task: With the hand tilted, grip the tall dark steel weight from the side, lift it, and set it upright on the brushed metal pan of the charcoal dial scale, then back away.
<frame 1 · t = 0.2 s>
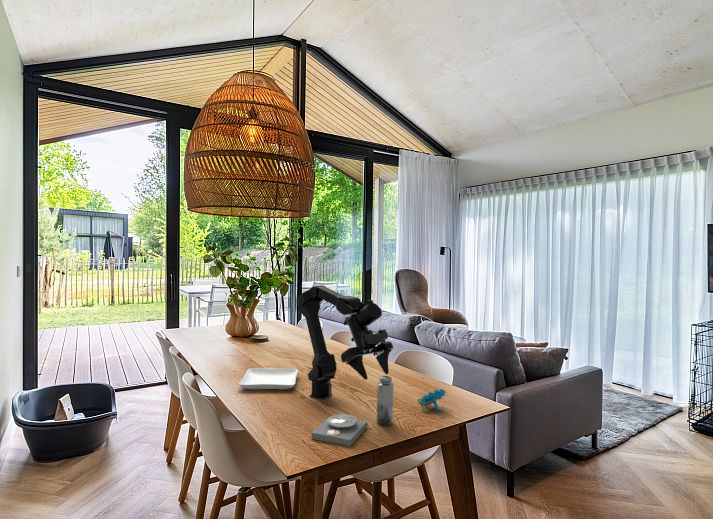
hand: (377, 376, 138), 14 cm above the table, tool tilted 35°, fingers open, 9 cm apart
salad plate: (270, 384, 174), on the table
scale pan: (342, 420, 130), point 3 cm above the table, slide at 0.2 cm
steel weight: (384, 422, 137), on the table
scale: (340, 432, 129), on the table
turquoise toy figurine: (430, 409, 151), on the table
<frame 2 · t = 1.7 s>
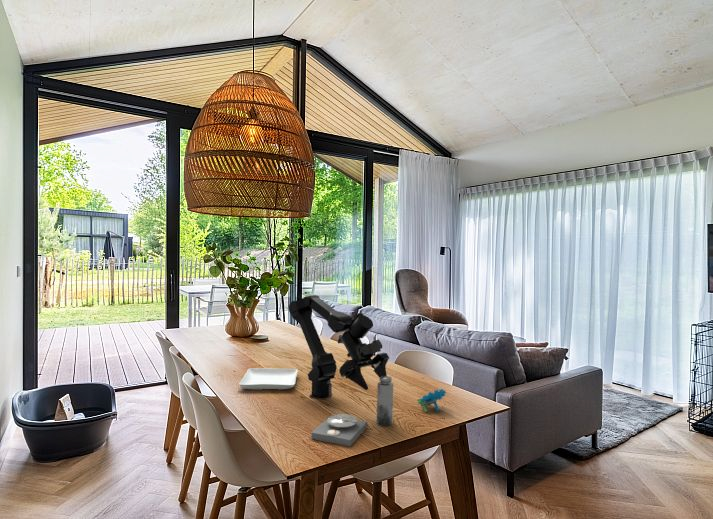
hand: (377, 386, 140), 11 cm above the table, tool tilted 45°, fingers open, 9 cm apart
nothing on the table moved.
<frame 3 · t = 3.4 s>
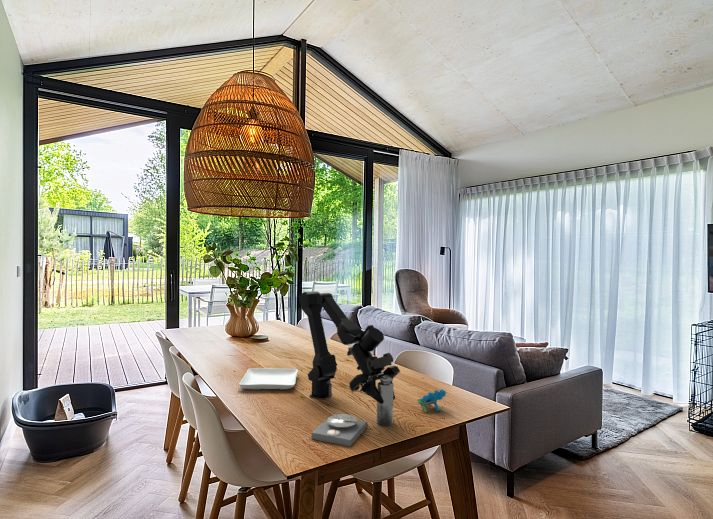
hand: (388, 401, 136), 7 cm above the table, tool tilted 45°, fingers closed on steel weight, 5 cm apart
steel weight: (384, 422, 137), on the table, touching gripper
everything else where it was.
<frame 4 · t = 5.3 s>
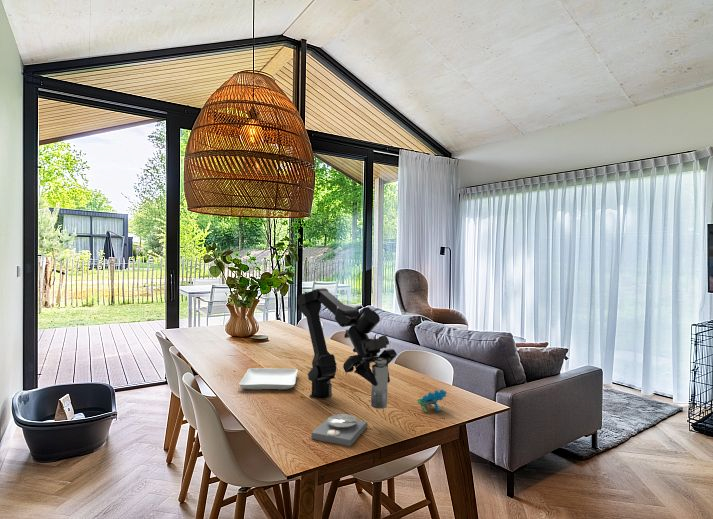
hand: (382, 383, 134), 13 cm above the table, tool tilted 45°, fingers closed on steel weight, 5 cm apart
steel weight: (378, 405, 136), point 6 cm above the table, touching gripper
everything else where it was.
when the fingers open (12 cm above the table, at t = 7.1 s): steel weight drops 2 cm, resting on scale pan.
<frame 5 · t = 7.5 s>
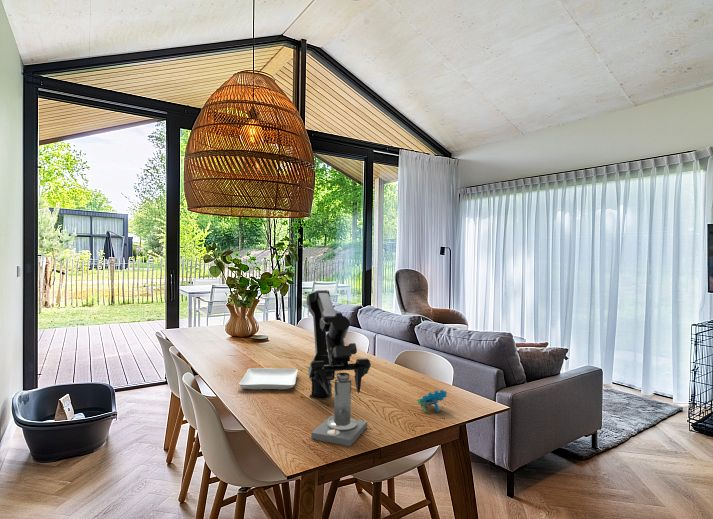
hand: (344, 393, 129), 12 cm above the table, tool tilted 45°, fingers open, 9 cm apart
scale pan: (342, 423, 130), point 2 cm above the table, slide at 1.0 cm, touching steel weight
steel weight: (342, 422, 131), point 3 cm above the table, touching scale pan
everything else where it was.
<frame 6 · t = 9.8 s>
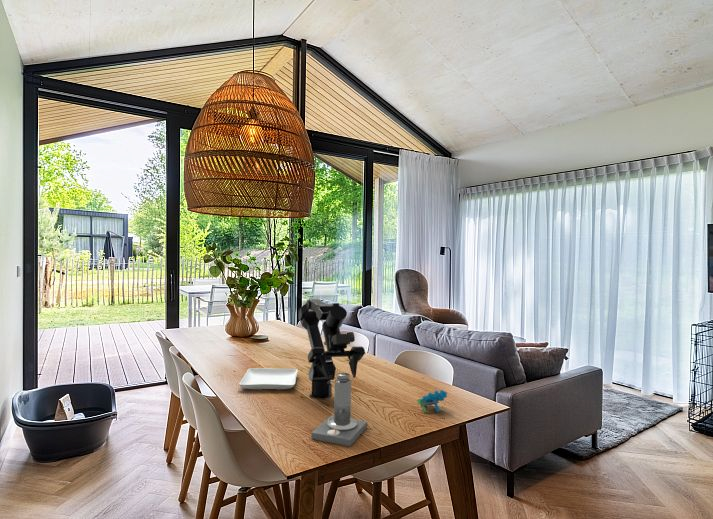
hand: (341, 378, 139), 13 cm above the table, tool tilted 40°, fingers open, 9 cm apart
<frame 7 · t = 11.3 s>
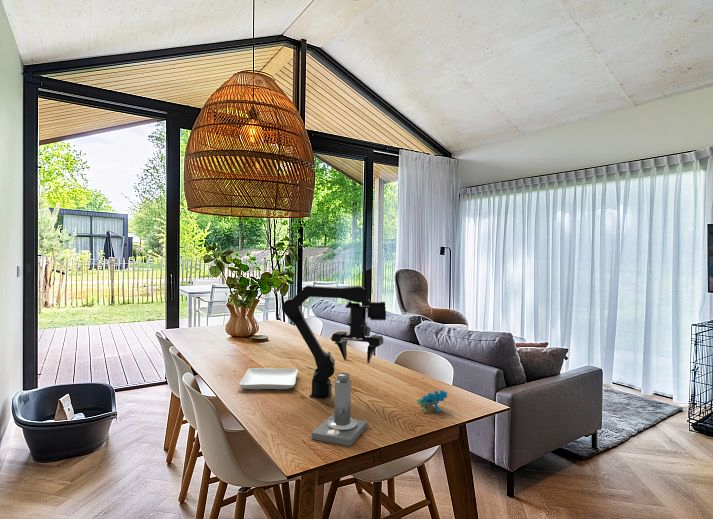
hand: (356, 361, 161), 13 cm above the table, tool pointing down, fingers open, 9 cm apart
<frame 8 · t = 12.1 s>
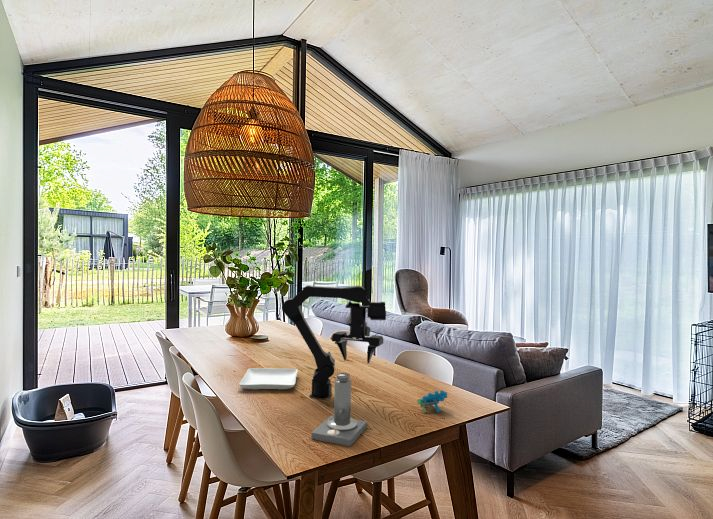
hand: (356, 361, 161), 13 cm above the table, tool pointing down, fingers open, 9 cm apart
at the end: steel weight inside the target area on the scale (0.1 cm from its centre), point 2.6 cm above the scale's base; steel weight tilted 0°; the gripper is holding nothing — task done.
